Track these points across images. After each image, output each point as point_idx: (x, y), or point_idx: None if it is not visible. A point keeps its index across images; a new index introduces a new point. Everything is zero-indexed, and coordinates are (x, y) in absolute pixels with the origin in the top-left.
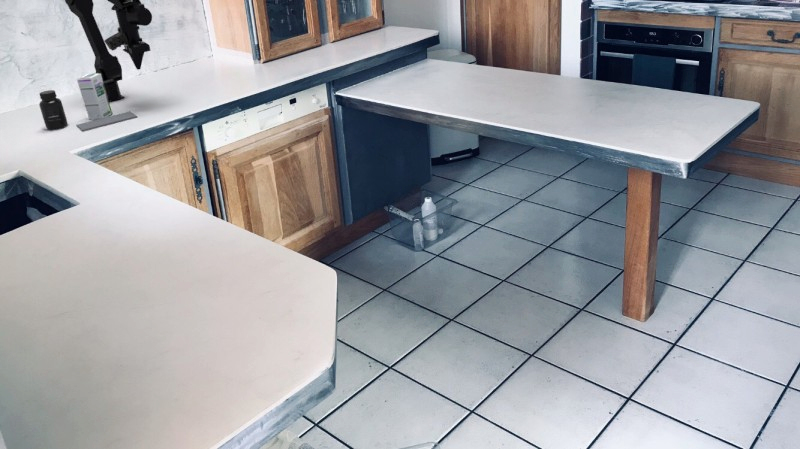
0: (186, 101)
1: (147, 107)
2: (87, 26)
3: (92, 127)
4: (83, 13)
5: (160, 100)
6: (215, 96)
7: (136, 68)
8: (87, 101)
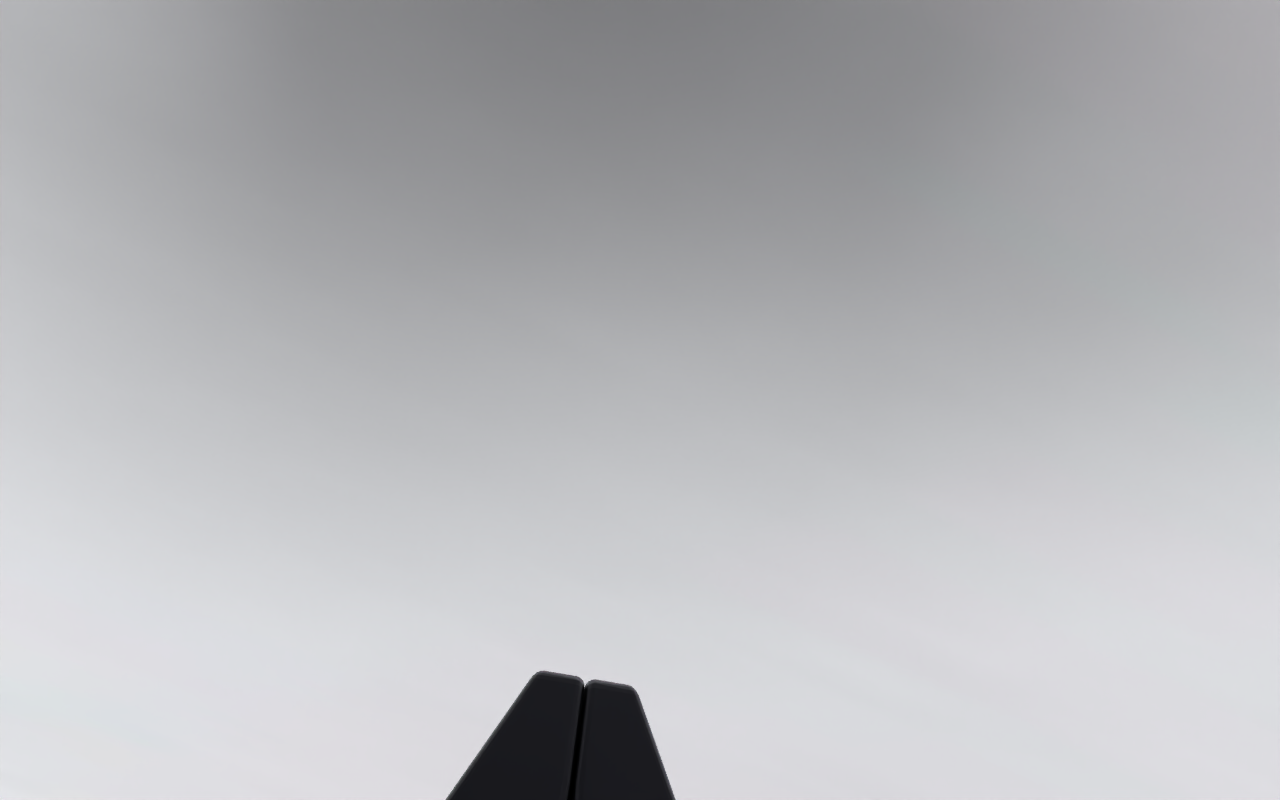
0: (156, 528)
1: (407, 9)
2: None
3: None
4: None
5: (637, 374)
6: (66, 779)
7: (606, 701)
8: None
